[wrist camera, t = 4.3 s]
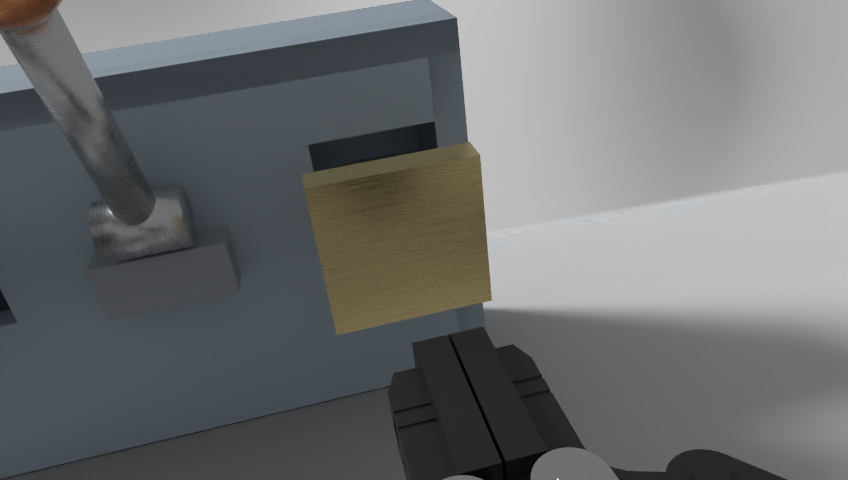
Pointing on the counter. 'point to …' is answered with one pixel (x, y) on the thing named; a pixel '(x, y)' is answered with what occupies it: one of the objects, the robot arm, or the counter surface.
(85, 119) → the lever
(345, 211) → the tan square block
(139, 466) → the counter surface
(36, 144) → the block
